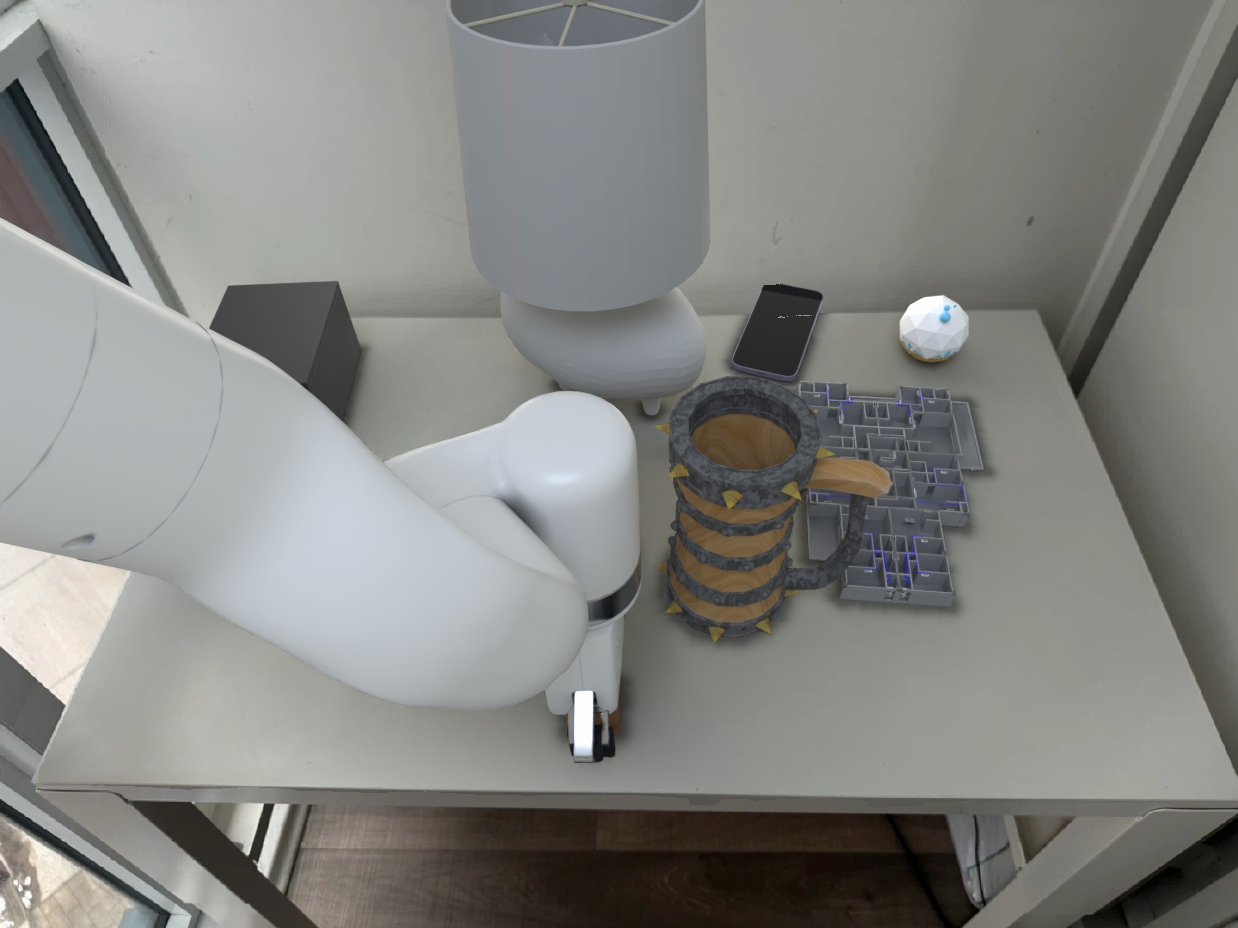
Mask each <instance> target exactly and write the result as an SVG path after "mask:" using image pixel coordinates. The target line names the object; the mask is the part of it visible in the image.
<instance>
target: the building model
mask: <svg viewBox="0 0 1238 928" xmlns="http://www.w3.org/2000/svg"><path fill="white" fill-rule="evenodd" d="M796 393H797V394H798V395H800V396H801V397H803V398H804V399H805V400H806V401H807V403H808V404H809V406H810V407H811V408H812V410H818V412H817V413H816V415H817V416H818V418H819V424H820V431H821V437H822V441H821V445H820V447H822V448H824V449H826V450H828V451H830V452H832V453H833V454H835V455H832V456H827V457H821V458H845V459H856V460H866V461H872V462H873V463H875V464H876V465H878V466H880V467H881V468H883V469H885V470H886V471H888V472H889V474H890V480H891V482H892V483H893V484H892V486H891V487H890V489H889V492H888V494H885V495H882V496H880V497H877V498H871V497H869V500H868V503H867V507H866V512H865V519H864V534H863V538H862V542H861V546H860V549H859V552H858V553H857V555H856V556H855V557H854V559H853V560H852V562H851V563H850V565H849V566H848V568H847V569H846V570H845V571H843V572H842V573H841V574H840V575H839V577H840V586H841V587H840V589H841V590H840V593H839V599H840V600H854V601H864V602H865V601H866V602H878V603H879V602H880V603H893V604H906V605H919V606H920V605H921V606H934V607H947V608H950V607H951V606H952V605H953V602H954V601H955V600H954V599H955V598H956V595H957V592H956V590H954V587H953V583H952V581H953V580H952V576H951V569H950V565H949V560H948V554H947V553H948V552H947V549H946V543H945V537H944V532H943V526H948V527H957V528H965V526H966V524H967V522H968V519H969V517H970V514H971V513H970V508H969V504H968V499H967V495H966V494H967V493H966V489H965V485H964V479H963V475H962V470H963V471H970V472H974V471H981V472H982V471H985V470H984V464H983V460H982V456H981V452H980V451H981V450H980V447H979V442H978V439H977V433H976V430H975V426H974V421H973V417H972V413H971V409H970V404H969V401H954V400H952V399H951V394H950V390H949V388H947V387H925V386H907V385H898V386H897V389H896V392H895V395H894V397H878V396H863V395H862V396H860V395H850V393H849V383H848V382H830V381H812V380H811V381H810V380H798V383H797V388H796ZM817 459H818V458H817ZM808 489H809V492H808V495H807V496H805V509H806V527H807V547H808V561H815V562H824V561H825V560H826V559H827V558H828V557H829V556H830V555H831V554H832V553H833V552H834V551H835V550H836V549H837V547H838V546H839V544H840V543H841V542H842V540H843V539H844V537H845V535H846V531H847V526H848V520H849V504H850V498H851V493H846V492H841V491H835V490H828V489H813V488H808Z"/></svg>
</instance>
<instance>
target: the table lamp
mask: <svg viewBox="0 0 1238 928" xmlns="http://www.w3.org/2000/svg"><path fill="white" fill-rule="evenodd" d="M445 16H446V26H447V36H448V47H449V54H450V55H449V57H450V65H451V74H452V84H453V85H452V86H453V93H454V94H453V95H454V104H455V114H456V123H457V124H456V125H457V132H458V133H457V134H458V144H459V152H460V162H461V163H460V164H461V171H462V180H463V181H462V182H463V192H464V193H463V194H464V200H465V201H464V202H465V210H466V221H467V229H468V241H469V250H470V255H471V258H472V259H471V260H472V262H473V264H474V266H475V268H476V269H477V272H478V273H479V274H480V275H481V276H482V278H484V280H485V281H486V282H488V284H490V285H491V286H492V287H494V288H495V289H496V290H498V292H500V297H499V298H500V302H499V303H500V304H499V305H500V317H501V323H502V326H503V328H504V331H505V333H506V336H507V337H508V338H509V340H510V342H511V343H512V345H513V346H514V347H515V349H516V350H517V351H518V352H519V353H520V354H521V355H522V356H523V357H524V358H525V359H526V360H527V361H528V362H530V364H532V365H533V366H534V367H536V368H537V369H538V370H539V371H541V372H542V373H544V374H545V375H546V376H548V377H549V378H551V379H553V380H554V381H556V382H557V383H558V386H559V388H560V389H561V391H571V390H572V391H579V392H584V393H589V394H592V395H595V396H597V397H600V398H602V399H607V400H621V401H640V400H641V403H642V408H643V410H644V413H645V414H646V415H648V416H656V415H657V414H658V413H659V411H660V408H661V407H660V406H661V403H662V399H663V398H669V397H672V396H675V395H678V394H680V393H683V392H684V391H686V390H688V389H689V388H691V387H692V386H693V385H694V384H695V383H696V382H697V381H698V379H700V376H701V374H702V372H703V370H704V366H705V363H706V358H707V339H706V335H705V331H704V330H705V329H704V327H703V323H702V322H701V320H700V318H699V316H698V314H697V312H696V311H695V309H694V307H693V306H692V305H691V303H690V301H689V300H688V298H687V297H686V296H685V294H684V293H683V292H682V290H680V288H679V286H681V285H682V284H683V283H685V282H686V281H687V280H688V279H689V278H691V277H692V276H693V275H694V274H695V273H696V272H697V270H699V268H700V267H701V266H702V264H704V263H703V262H704V261H705V259H706V258H707V255H708V253H709V250H710V245H711V210H710V209H711V205H710V199H711V198H710V164H709V160H710V159H709V158H710V157H709V121H708V120H709V115H708V113H709V111H708V69H707V67H708V65H707V64H708V63H707V29H706V28H707V27H706V24H707V22H706V21H707V20H706V0H445Z"/></svg>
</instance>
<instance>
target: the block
mask: <svg viewBox="0 0 1238 928" xmlns="http://www.w3.org/2000/svg"><path fill="white" fill-rule="evenodd" d="M621 686H622V685H621V683H620V687H619V697H618V706H617V708H616V709H615V711H614V712H612V713H611V714H609V726H611V727H612V728H613V729H614V734H620V730H621V728H620V727H621V721H620V720H621V689H622V687H621ZM594 698H596V693H595V692H594ZM564 717H565V723H566V728H568V713H567V714H566V715H564ZM594 725H601V713H594Z"/></svg>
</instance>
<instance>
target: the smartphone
mask: <svg viewBox="0 0 1238 928" xmlns="http://www.w3.org/2000/svg"><path fill="white" fill-rule="evenodd" d="M823 302H824V294H823V293H822V292H821V291H818V290H815V289H810V288H805V287H800V286H796V285H795V286H794V285H789V284H784V283H780V285H779V284H776V285H764V284H763V285H762V287H761V288H760V290H759V293H758V296H757V299H756V301H755V303H754V306H753V308H752V310H751V312H750V315H749V317H748V319H747V322H746V324H745V326H744V329H743V332H742V334H741V336H740V338H739V341H738V343H737V345H736V348H735V351H734V352H733V355H732V358H731V367H732V368H733V369H734V370H736V371H739V372H743V373H747V374H751V375H756V376H760V377H764V378H769V379H773V380H778V381H781V382H792V381H794V380H795V379H796V378H797V376H798V374H799V371H800V369H801V365H802V362H803V359H804V356H805V354H806V351H807V348H808V347H809V343H810V340H811V336H812V334H813V331H814V328H815V326H816V323H817V320H818V316H819V314H820V311H821V309H822V305H823ZM796 315H797V316H796ZM798 315H802V316H798ZM803 315H810V316H803ZM811 315H812V316H811ZM780 316H782V317H785V318H782V317H781V318H778V317H780ZM787 316H788V317H787Z"/></svg>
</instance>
